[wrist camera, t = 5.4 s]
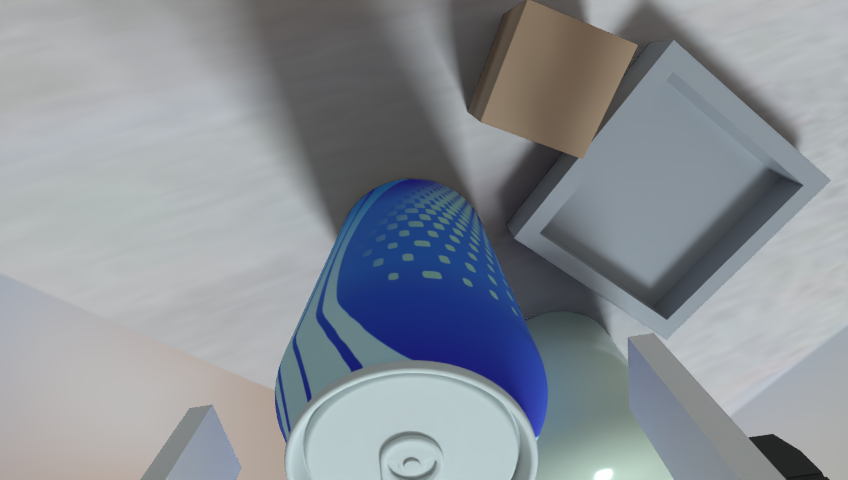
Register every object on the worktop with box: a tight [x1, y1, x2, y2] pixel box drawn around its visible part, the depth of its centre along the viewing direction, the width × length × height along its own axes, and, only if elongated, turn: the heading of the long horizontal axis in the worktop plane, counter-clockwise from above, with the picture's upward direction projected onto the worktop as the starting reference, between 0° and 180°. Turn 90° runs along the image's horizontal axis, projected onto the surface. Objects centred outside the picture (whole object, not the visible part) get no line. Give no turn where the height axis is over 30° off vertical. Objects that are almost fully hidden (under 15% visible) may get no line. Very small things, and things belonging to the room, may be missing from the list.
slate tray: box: [506, 40, 831, 340], centre depth 24 cm, size 12×12×2 cm
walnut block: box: [468, 0, 638, 159], centre depth 21 cm, size 5×5×5 cm
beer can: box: [275, 179, 548, 480], centre depth 19 cm, size 8×8×16 cm
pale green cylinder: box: [525, 311, 674, 480], centre depth 25 cm, size 8×8×9 cm
